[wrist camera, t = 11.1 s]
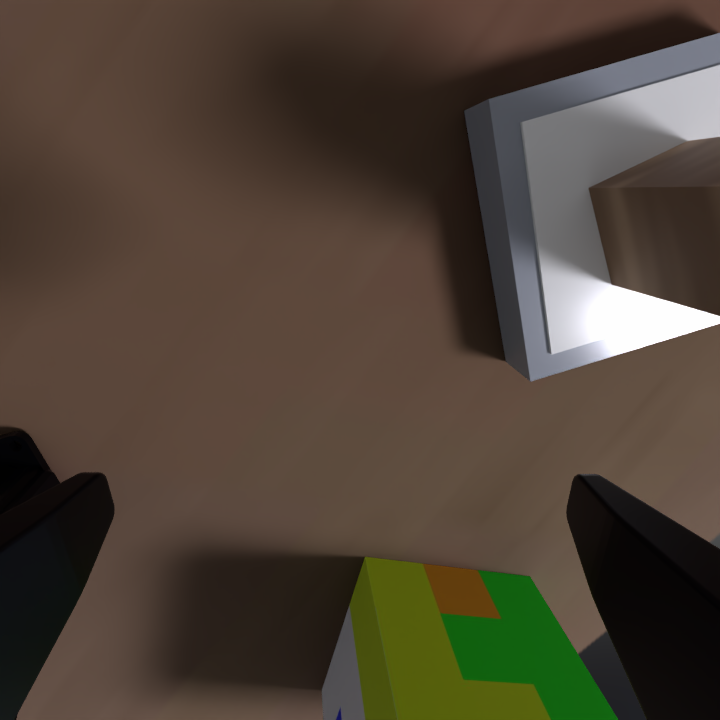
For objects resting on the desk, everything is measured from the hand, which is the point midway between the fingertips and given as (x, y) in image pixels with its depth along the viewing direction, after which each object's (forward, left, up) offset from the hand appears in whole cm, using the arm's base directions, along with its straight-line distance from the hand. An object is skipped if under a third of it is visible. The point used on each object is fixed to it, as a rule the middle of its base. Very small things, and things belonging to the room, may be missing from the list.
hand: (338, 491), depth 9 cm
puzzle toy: (+1, -20, -13) cm, 24 cm away
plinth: (+14, +1, -12) cm, 18 cm away
